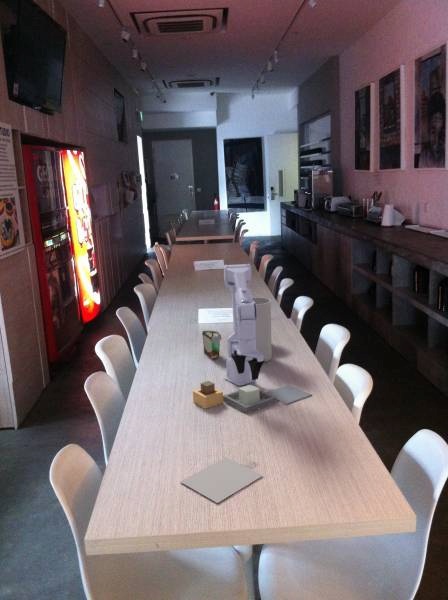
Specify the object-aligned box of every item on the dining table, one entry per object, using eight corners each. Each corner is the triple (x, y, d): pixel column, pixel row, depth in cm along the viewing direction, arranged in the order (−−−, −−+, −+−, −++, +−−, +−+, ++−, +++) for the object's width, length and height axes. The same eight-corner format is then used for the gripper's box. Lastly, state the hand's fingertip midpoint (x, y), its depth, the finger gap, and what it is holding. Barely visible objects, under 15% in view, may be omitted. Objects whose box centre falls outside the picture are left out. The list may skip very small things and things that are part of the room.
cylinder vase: (235, 358, 236) (234, 301, 230) (257, 351, 244) (256, 295, 238) (256, 366, 227) (254, 306, 221) (277, 358, 235) (277, 300, 229)
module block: (239, 401, 194) (238, 388, 192) (250, 398, 196) (250, 384, 195) (248, 406, 190) (247, 392, 189) (259, 402, 193) (259, 388, 191)
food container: (226, 358, 236) (225, 336, 234) (212, 361, 234) (211, 338, 232) (216, 350, 248) (215, 328, 245) (202, 352, 245) (201, 330, 243)
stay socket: (193, 401, 195) (192, 391, 194) (210, 396, 199) (210, 385, 198) (205, 408, 189) (205, 397, 188) (223, 402, 193) (222, 391, 192)
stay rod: (201, 402, 194) (200, 383, 192) (209, 399, 196) (208, 380, 195) (207, 405, 192) (206, 386, 190) (215, 402, 194) (214, 383, 192)
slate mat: (263, 394, 199) (263, 392, 199) (288, 385, 206) (288, 384, 206) (286, 404, 190) (286, 403, 190) (311, 395, 197) (311, 394, 197)
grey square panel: (157, 471, 152) (157, 468, 152) (222, 438, 169) (222, 436, 169) (217, 505, 136) (217, 502, 135) (283, 465, 153) (283, 463, 152)
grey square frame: (222, 401, 194) (222, 395, 194) (252, 391, 202) (251, 386, 201) (246, 413, 184) (246, 407, 184) (276, 402, 192) (276, 397, 191)
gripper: (224, 335, 191) (225, 373, 194) (251, 345, 180) (252, 385, 183) (240, 331, 195) (241, 368, 198) (268, 341, 184) (268, 380, 187)
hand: (248, 376), depth 191 cm, fingers open, 7 cm apart
